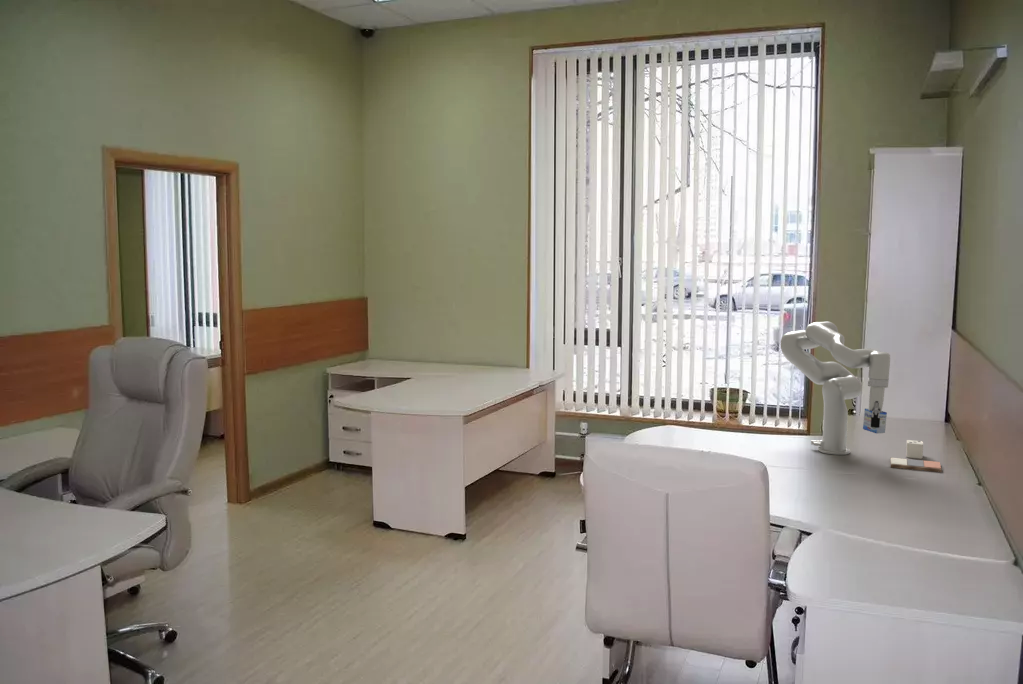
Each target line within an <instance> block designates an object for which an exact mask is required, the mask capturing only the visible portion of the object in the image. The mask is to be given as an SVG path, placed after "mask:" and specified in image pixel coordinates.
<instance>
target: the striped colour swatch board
mask: <svg viewBox="0 0 1023 684" xmlns="http://www.w3.org/2000/svg"><path fill="white" fill-rule="evenodd" d="M941 466H942V465H941V462H940V461H933V460H923V459H914V458H911V459H910V458H899V457H890V468H893V469H901V468H903V469H902V470H912V469H913V471H922V470H924V471H923V472H934V473H942V467H941Z"/></svg>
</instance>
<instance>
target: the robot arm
mask: <svg viewBox="0 0 1023 684" xmlns="http://www.w3.org/2000/svg"><path fill="white" fill-rule="evenodd" d="M845 341H846V339H845V336H844V335H843V334H842V333H840V332H839V328H838V327H837V325H836V324H835V323H834V322H831V321H815V322H812V323H809V324H808V325H807V326H806V328H805V330H795V331H794V330H793V331H788V332H786V333H785V334H783V335H782V337H781V339H780V349H781V353H782V354H783V356H784V357H785V359H786V360H787V361H788V362H789V363H790V364H791V365H793V366H794V367H796V368H797V369H798V370H799V371H800V372H801V373H802V374H804V376H806V377H807V378H808V379H809V380H810V381H811V382H812V383H813V384H815V385H821V386H822V388H821V393H822V398H823V418H822V419H823V420H822V421H823V422H822V423H823V424H822V438H821V439H820V440H815V439H811V440H810V441H811V442H810V444H811V445H813V446H814V447H815V446H818V448H817V449H818V452H820V453H823V454H826V455H836V456H843V455H848V454H850V452H851V449H850V448H847V437H848V436H847V435H848V415H849V414H848V413H849V411H848V407H847V404H846V400H851V399H855V398H857V397H859V396H860V395H861V394H862V391H863V385H862V383H861V381H860V380H859V378H857V377H856V375H854V374H853V373H852V372H851V371H849V370H848V368H850V369H862V368H868V378H867V386H868V387H869V395H868V396H869V398H868V399H869V400H868V408H869V411H870V410H872V409H874V410H872V417H871V427H875V428H879V425H880V418H879V416H880V412H881V411H883V408H884V407H883V405H884V400H885V390H886V389H887V388H889V381H890V380H889V379H890V368H891V367H890V366H891V354H890V353H889V352H886V351H878V350H875V349H871V348H859V349H852V348H849V346H846V345H845V343H846V342H845ZM818 347H822V348H823V349H825V350H827V351H829V352H830V354H831V356H832V358H833V359H834V360H835V361H821V360H820V359H818V358H816V356H815V355H814V354H812V353H810V352H808V351H807V350H811V349H816V348H818ZM846 367H847V368H846ZM873 415H874V416H873Z"/></svg>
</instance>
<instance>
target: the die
mask: <svg viewBox="0 0 1023 684" xmlns="http://www.w3.org/2000/svg"><path fill="white" fill-rule="evenodd" d="M905 448H906V450H905V455H906V456H905V458H908V459H910V458H911V459H919V460H923V454H924V451H923V450H924V442H923V441H922V440H911V439H906V447H905Z"/></svg>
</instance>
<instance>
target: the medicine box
mask: <svg viewBox="0 0 1023 684" xmlns="http://www.w3.org/2000/svg"><path fill="white" fill-rule="evenodd" d="M872 410H874V409H872ZM872 410H870V411H869V407H867V408H864V413H863V424H862V429H863V430H864V431H867V432H871V433H874V434H876V435H877V434H885V433H886V425H887V414H888V413H887V412H886V411H883V410H882V411H881V412H880V416H879V418H880V425H879V428H875V427H871V417H872ZM873 416H874V415H873Z"/></svg>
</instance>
